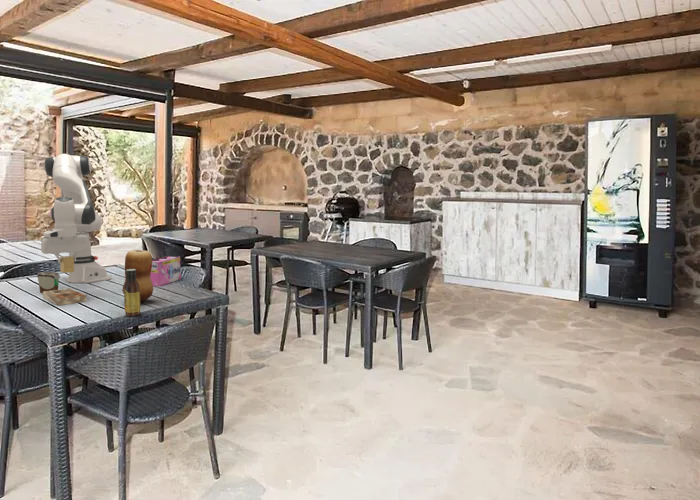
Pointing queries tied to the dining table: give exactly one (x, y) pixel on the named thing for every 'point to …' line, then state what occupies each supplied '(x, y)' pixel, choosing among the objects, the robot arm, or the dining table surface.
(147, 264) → the butternut squash
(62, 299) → the rail
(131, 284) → the sauce bottle
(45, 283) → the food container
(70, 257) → the brass peg
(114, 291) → the dining table surface
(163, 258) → the gum box
